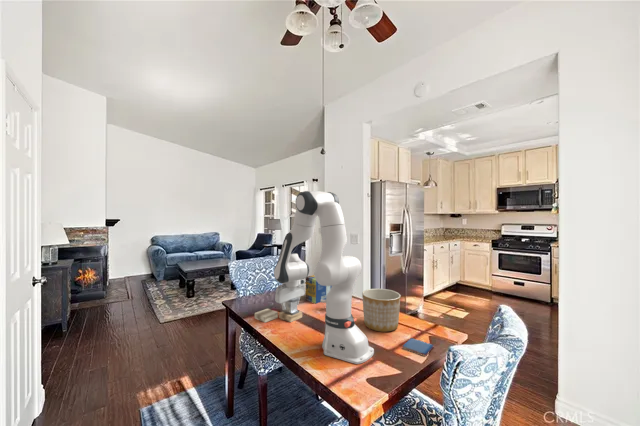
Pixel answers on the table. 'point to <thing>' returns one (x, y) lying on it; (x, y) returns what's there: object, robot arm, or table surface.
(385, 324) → the planter
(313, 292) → the protein box
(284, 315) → the stand
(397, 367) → the table surface
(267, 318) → the stand
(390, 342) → the table surface
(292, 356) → the table surface
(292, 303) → the housing
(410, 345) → the blue sponge
